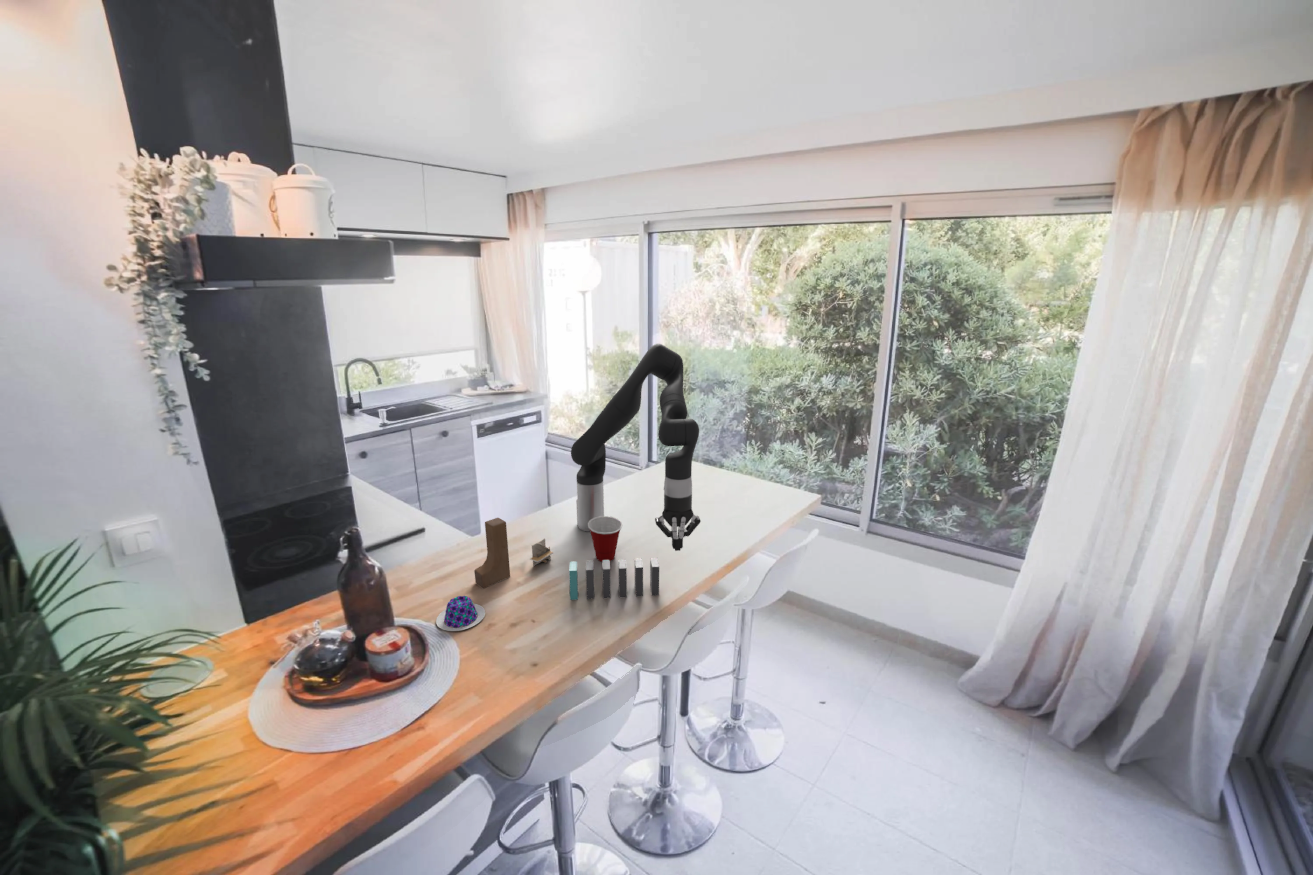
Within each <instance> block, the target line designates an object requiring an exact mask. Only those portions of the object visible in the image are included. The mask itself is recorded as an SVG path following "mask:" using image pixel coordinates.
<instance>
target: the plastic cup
mask: <svg viewBox="0 0 1313 875" xmlns="http://www.w3.org/2000/svg"><path fill="white" fill-rule="evenodd" d="M588 528H589V529H590V531H589V532H590V534H591V535H590V536H591V541H592V544H593V549H594V553H595V557H596V560H597V561H598V562H601V563H602V560H610V562H611V561H613V560H614V559H615V556H616V552H617V546H618V541H619V536H620V533H621V532H620V531H621V530H622V528H623V522H622V521H621V520H620V519H618V518H616V517H613V516H608V515H607V516H605V515H604V516H601V517H596V518H593V519H591V520H590V521H589V522H588Z"/></svg>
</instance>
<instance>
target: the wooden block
mask: <svg viewBox="0 0 1313 875" xmlns="http://www.w3.org/2000/svg"><path fill="white" fill-rule="evenodd" d="M484 529H485V537H486V538H485V539H486V550H487V555H486V559H485V560H484V561H483V564H482V565H480V566H478V567H476V568H475V569H474V571H473V572H474V579H475V580H474V581H475V584H476V585H477V586H478V587H480V588H481V589H486V588H488V587H492V586H493V585H495V584H497V583H499V582H502V581H505V580H506V579H509V578H510V577H511V569H510V568H511V567H510V556H509V546H508V545H509V543H508V533H507V532H508V531H507V530H508V529H507V522H506V521H505V520H503V519H501V518H500V517H495V518H492V519H489V520H487V521H484Z"/></svg>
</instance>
